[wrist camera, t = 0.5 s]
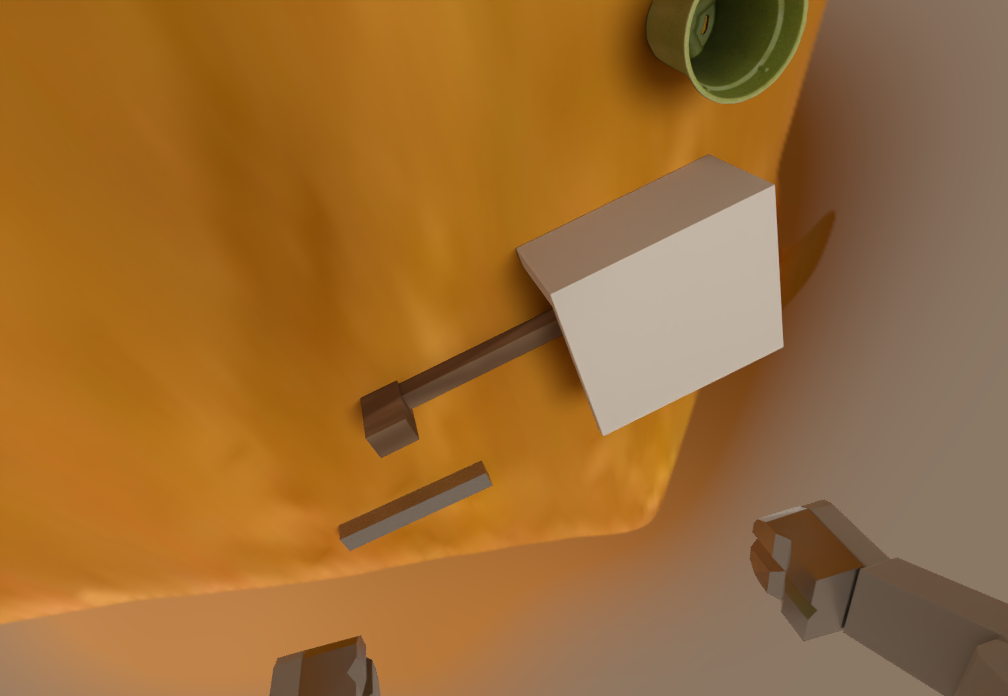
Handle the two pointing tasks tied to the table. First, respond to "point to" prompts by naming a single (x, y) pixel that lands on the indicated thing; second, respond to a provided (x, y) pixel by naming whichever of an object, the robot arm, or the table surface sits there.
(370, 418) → the hooked rake
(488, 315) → the table surface
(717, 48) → the plant pot
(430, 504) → the straight rod
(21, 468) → the table surface
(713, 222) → the small white bench
